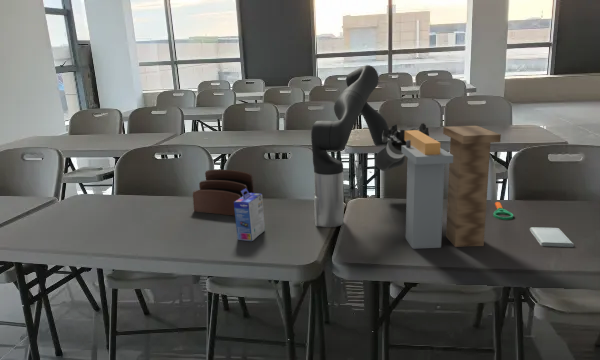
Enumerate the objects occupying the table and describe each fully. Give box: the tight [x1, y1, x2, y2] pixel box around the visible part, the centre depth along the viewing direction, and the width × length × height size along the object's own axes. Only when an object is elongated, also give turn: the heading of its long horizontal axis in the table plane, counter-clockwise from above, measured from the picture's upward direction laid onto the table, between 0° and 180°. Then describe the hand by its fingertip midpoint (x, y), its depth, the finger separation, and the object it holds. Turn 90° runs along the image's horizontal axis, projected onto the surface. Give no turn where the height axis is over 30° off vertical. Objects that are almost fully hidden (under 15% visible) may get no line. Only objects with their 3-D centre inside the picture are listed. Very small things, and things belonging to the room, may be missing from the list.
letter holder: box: [192, 169, 255, 217], centre depth 174 cm, size 10×20×14 cm, turn 67°
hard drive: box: [529, 227, 574, 248], centre depth 140 cm, size 2×8×12 cm
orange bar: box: [404, 129, 442, 155], centre depth 137 cm, size 4×22×3 cm, turn 2°
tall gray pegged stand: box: [401, 138, 453, 250], centre depth 136 cm, size 10×16×29 cm, turn 2°
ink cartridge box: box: [234, 188, 266, 242], centre depth 148 cm, size 10×6×14 cm, turn 161°
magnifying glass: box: [492, 201, 514, 221], centre depth 163 cm, size 15×6×2 cm, turn 167°
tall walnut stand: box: [442, 125, 502, 248], centre depth 136 cm, size 10×16×32 cm, turn 2°
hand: (409, 126), depth 149 cm, fingers open, 8 cm apart
